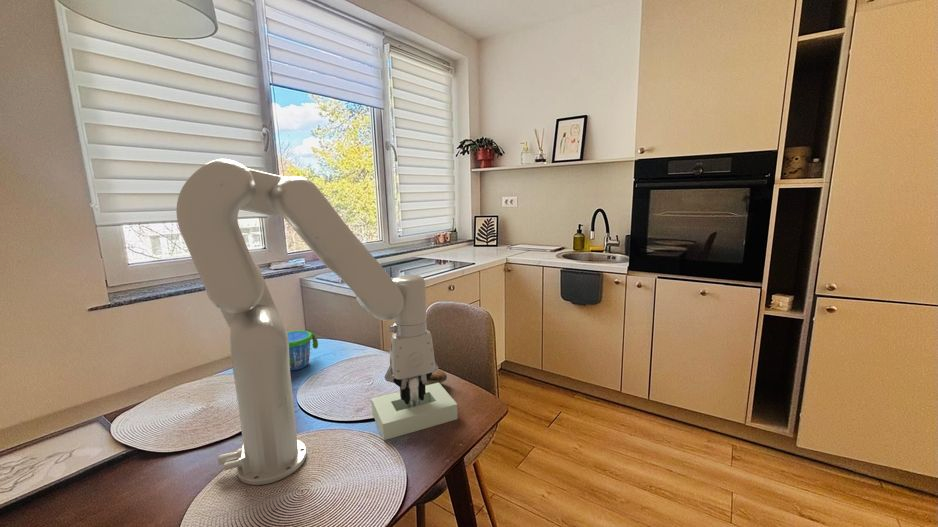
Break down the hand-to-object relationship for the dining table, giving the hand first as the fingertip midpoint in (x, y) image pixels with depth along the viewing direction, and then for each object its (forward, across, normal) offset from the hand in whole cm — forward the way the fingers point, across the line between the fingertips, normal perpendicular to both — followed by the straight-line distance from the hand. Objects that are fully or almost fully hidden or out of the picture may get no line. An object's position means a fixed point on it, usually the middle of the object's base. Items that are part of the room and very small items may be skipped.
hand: (413, 398), depth 93 cm
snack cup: (+5, -25, +44) cm, 51 cm away
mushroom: (+5, +9, +11) cm, 15 cm away
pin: (+3, 0, 0) cm, 3 cm away
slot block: (+5, 0, 0) cm, 5 cm away
